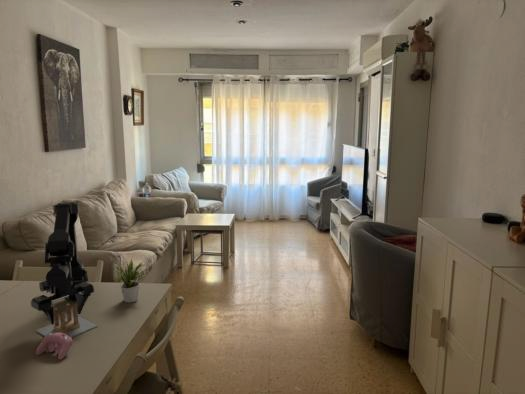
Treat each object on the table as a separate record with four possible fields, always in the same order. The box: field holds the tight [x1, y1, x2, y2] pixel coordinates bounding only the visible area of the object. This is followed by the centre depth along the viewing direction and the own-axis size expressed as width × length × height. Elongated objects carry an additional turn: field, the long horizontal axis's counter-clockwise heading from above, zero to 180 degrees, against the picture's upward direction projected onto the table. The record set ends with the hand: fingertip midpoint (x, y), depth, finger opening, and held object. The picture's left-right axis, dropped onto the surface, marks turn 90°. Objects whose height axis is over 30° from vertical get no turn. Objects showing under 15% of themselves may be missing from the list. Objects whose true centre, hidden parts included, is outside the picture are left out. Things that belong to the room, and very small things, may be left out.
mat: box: [35, 315, 98, 345], centre depth 135 cm, size 14×14×1 cm
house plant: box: [114, 258, 149, 303], centre depth 156 cm, size 14×14×16 cm
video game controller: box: [35, 333, 73, 361], centre depth 120 cm, size 10×5×7 cm, turn 72°
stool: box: [53, 303, 80, 334], centre depth 134 cm, size 6×6×7 cm
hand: (66, 319), depth 135 cm, fingers open, 9 cm apart
